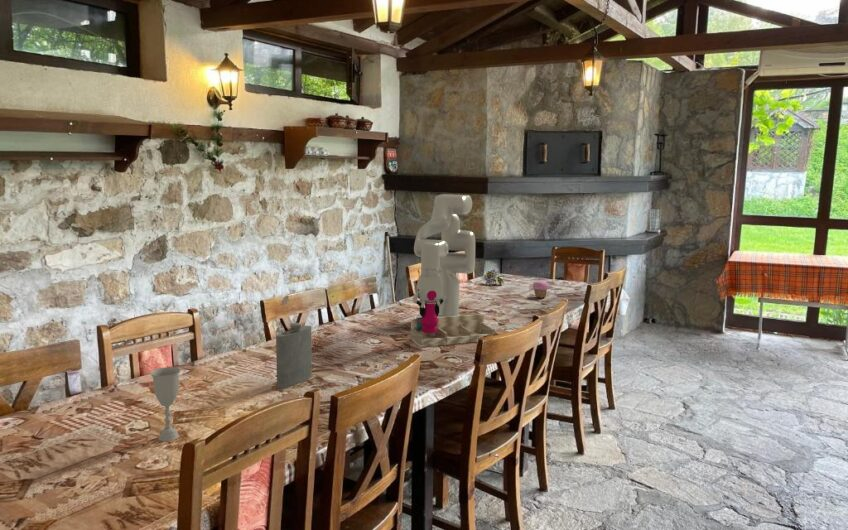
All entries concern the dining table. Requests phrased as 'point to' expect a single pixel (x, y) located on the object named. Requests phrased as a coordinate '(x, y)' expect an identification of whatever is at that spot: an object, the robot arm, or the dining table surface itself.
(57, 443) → the dining table surface
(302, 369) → the hip flask
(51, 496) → the dining table surface
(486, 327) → the rack
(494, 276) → the passion flower
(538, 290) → the cupcake
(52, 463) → the dining table surface
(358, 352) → the dining table surface
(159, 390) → the chalice
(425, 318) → the pepper mill
